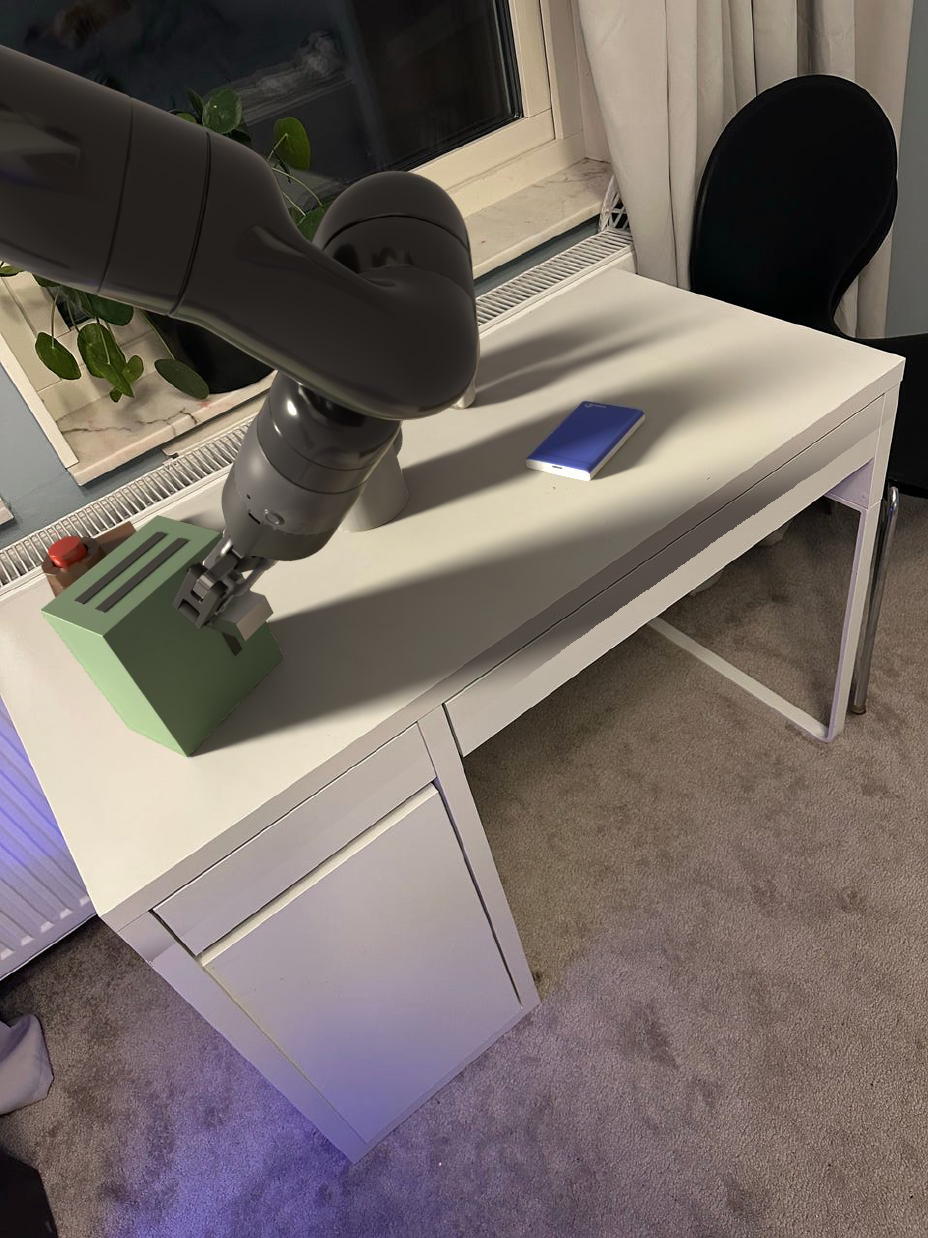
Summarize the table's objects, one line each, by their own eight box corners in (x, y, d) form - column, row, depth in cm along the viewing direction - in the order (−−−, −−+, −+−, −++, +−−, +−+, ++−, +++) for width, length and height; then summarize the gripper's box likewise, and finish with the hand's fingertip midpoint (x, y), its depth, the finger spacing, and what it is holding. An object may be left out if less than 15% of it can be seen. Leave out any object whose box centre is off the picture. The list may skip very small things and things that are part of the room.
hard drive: (581, 399, 100) (525, 456, 93) (644, 409, 95) (589, 469, 89) (583, 411, 101) (527, 468, 95) (645, 421, 96) (590, 482, 90)
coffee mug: (361, 542, 91) (332, 464, 84) (307, 516, 97) (276, 441, 90) (447, 477, 97) (426, 399, 90) (390, 456, 103) (367, 382, 96)
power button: (59, 572, 92) (51, 560, 91) (53, 558, 95) (44, 546, 94) (90, 557, 93) (82, 544, 92) (83, 543, 96) (75, 531, 95)
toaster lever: (245, 641, 68) (236, 623, 66) (204, 626, 70) (194, 608, 69) (274, 612, 70) (265, 595, 68) (232, 599, 72) (223, 581, 71)
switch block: (67, 616, 92) (47, 589, 90) (51, 579, 99) (32, 552, 96) (159, 567, 96) (143, 540, 93) (138, 534, 102) (122, 508, 99)
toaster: (189, 758, 73) (103, 636, 63) (128, 728, 77) (38, 609, 67) (286, 656, 80) (222, 532, 70) (224, 634, 84) (156, 514, 74)
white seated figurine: (489, 400, 108) (476, 341, 102) (454, 426, 105) (439, 367, 99) (458, 392, 111) (445, 334, 106) (424, 417, 108) (408, 359, 103)
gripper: (323, 374, 55) (264, 491, 68) (166, 502, 47) (134, 605, 61) (408, 454, 56) (333, 554, 69) (268, 593, 48) (214, 675, 61)
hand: (240, 578), depth 65 cm, fingers open, 8 cm apart
